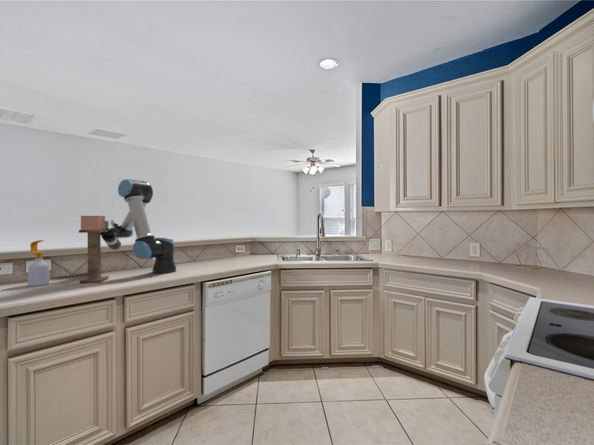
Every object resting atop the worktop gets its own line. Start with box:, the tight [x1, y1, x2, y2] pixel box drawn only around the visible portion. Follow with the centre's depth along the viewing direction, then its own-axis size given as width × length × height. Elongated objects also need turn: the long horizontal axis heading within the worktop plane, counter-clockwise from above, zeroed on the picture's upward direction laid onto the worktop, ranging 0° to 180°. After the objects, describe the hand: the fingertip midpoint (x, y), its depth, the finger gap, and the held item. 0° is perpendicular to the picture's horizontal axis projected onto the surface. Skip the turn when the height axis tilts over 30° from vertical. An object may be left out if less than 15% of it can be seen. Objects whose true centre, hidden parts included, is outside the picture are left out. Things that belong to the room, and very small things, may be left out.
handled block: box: [80, 215, 110, 230], centre depth 192 cm, size 24×9×8 cm, turn 13°
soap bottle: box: [27, 239, 50, 287], centre depth 176 cm, size 9×9×25 cm
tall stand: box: [78, 229, 109, 284], centre depth 186 cm, size 12×11×30 cm
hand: (99, 221), depth 194 cm, fingers open, 13 cm apart
